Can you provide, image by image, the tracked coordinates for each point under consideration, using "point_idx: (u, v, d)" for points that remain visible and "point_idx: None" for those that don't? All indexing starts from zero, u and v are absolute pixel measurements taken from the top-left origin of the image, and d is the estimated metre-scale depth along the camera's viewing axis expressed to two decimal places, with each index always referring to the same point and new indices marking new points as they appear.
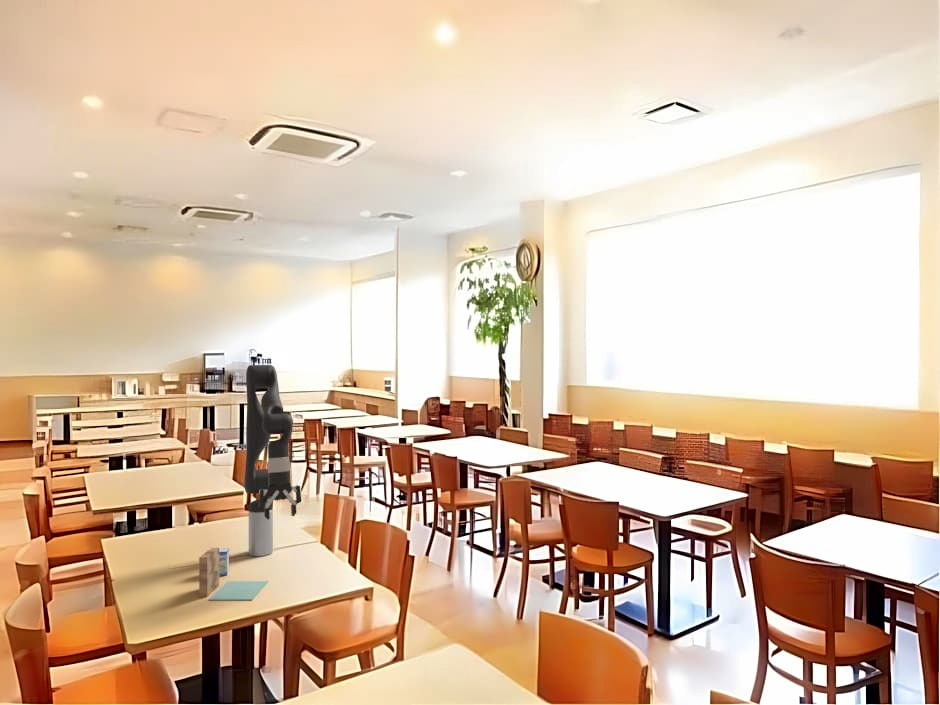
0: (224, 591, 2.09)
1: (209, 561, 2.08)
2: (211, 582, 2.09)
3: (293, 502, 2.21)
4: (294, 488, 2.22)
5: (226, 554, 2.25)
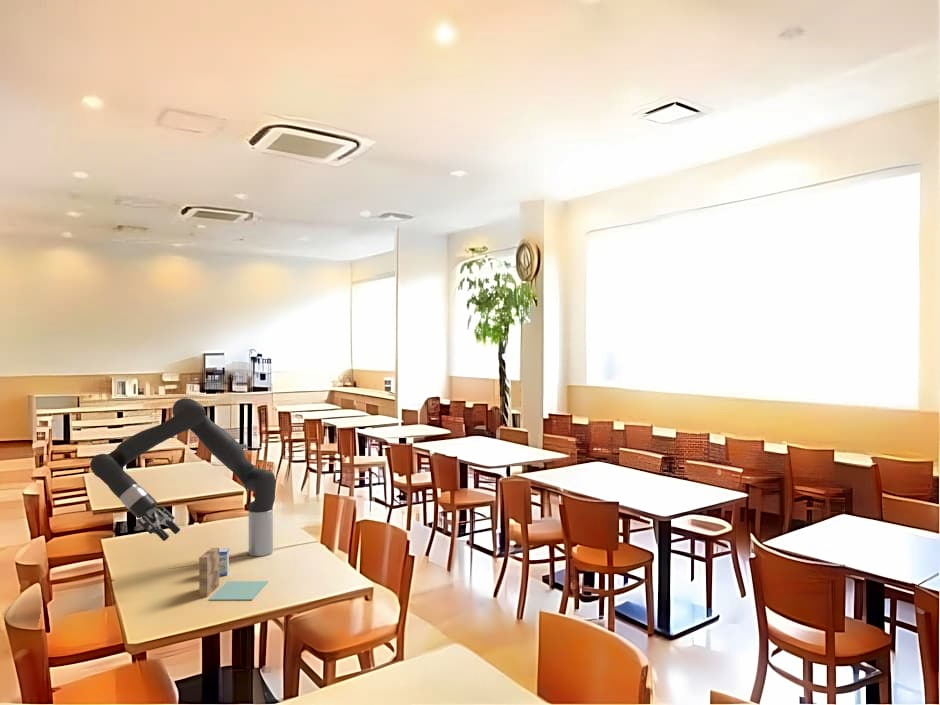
0: (224, 591, 2.09)
1: (209, 561, 2.08)
2: (211, 582, 2.09)
3: None
4: None
5: (226, 554, 2.25)
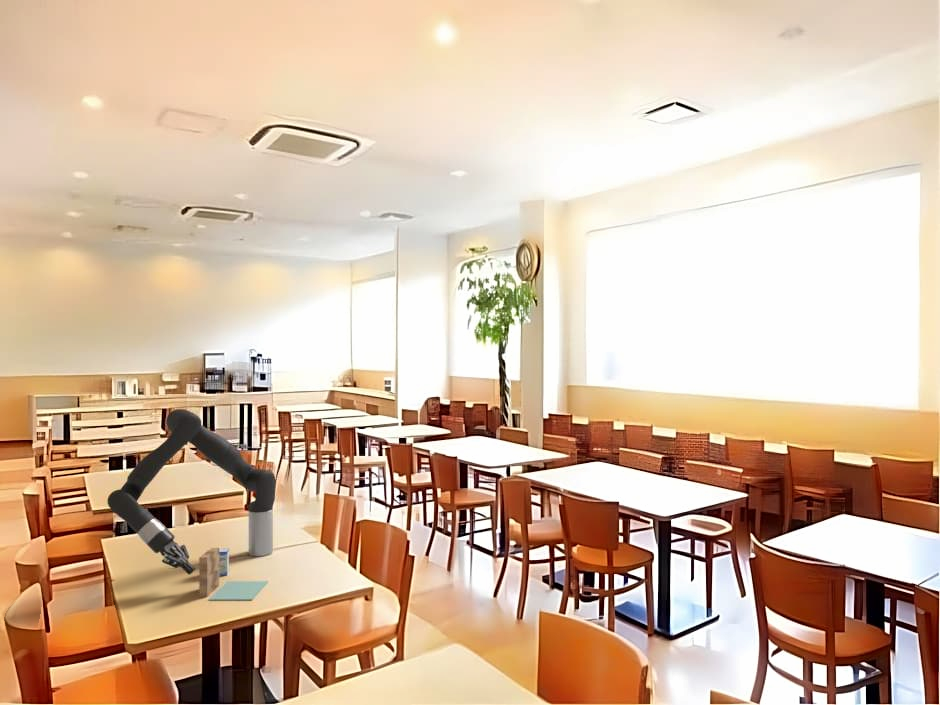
0: (224, 591, 2.09)
1: (210, 561, 2.08)
2: (211, 582, 2.09)
3: None
4: None
5: (226, 554, 2.25)
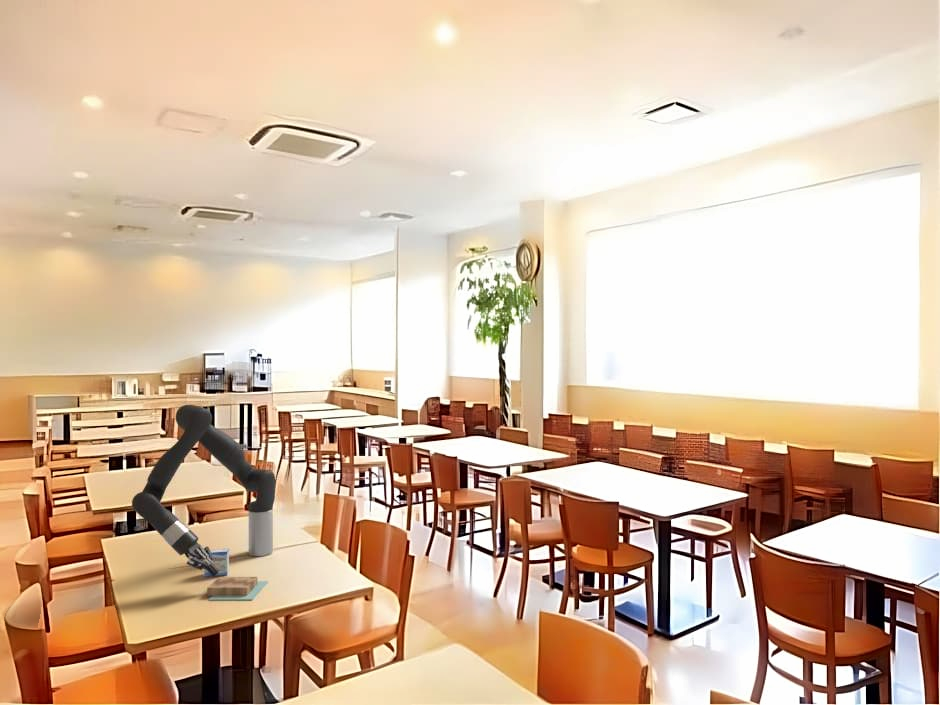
0: None
1: None
2: None
3: None
4: None
5: (226, 554, 2.25)
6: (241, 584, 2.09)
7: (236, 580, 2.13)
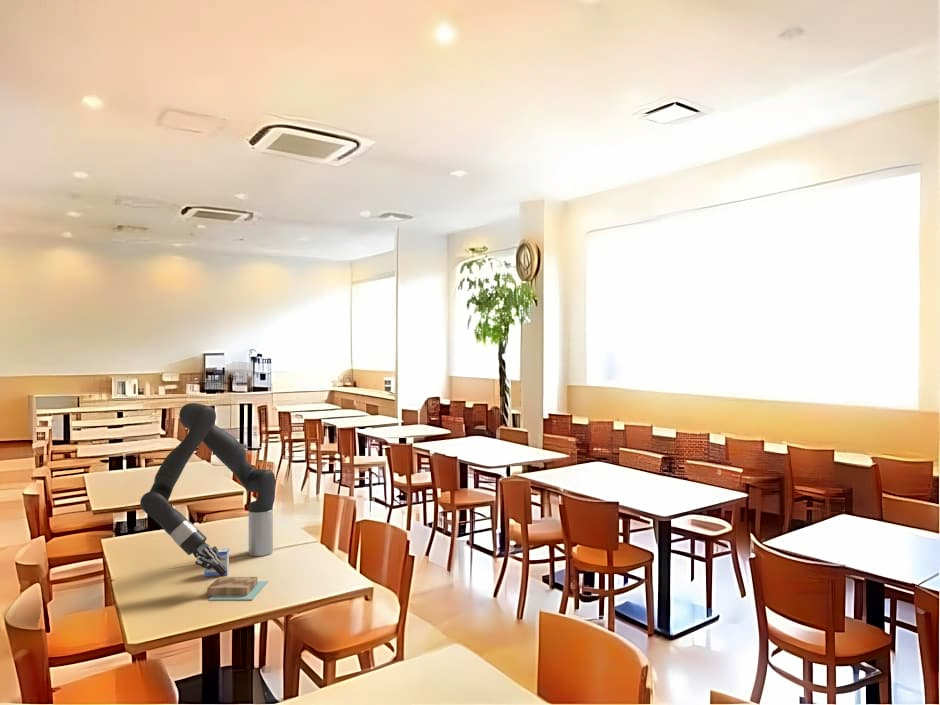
0: None
1: None
2: None
3: None
4: None
5: (226, 554, 2.25)
6: (241, 584, 2.09)
7: (236, 580, 2.13)
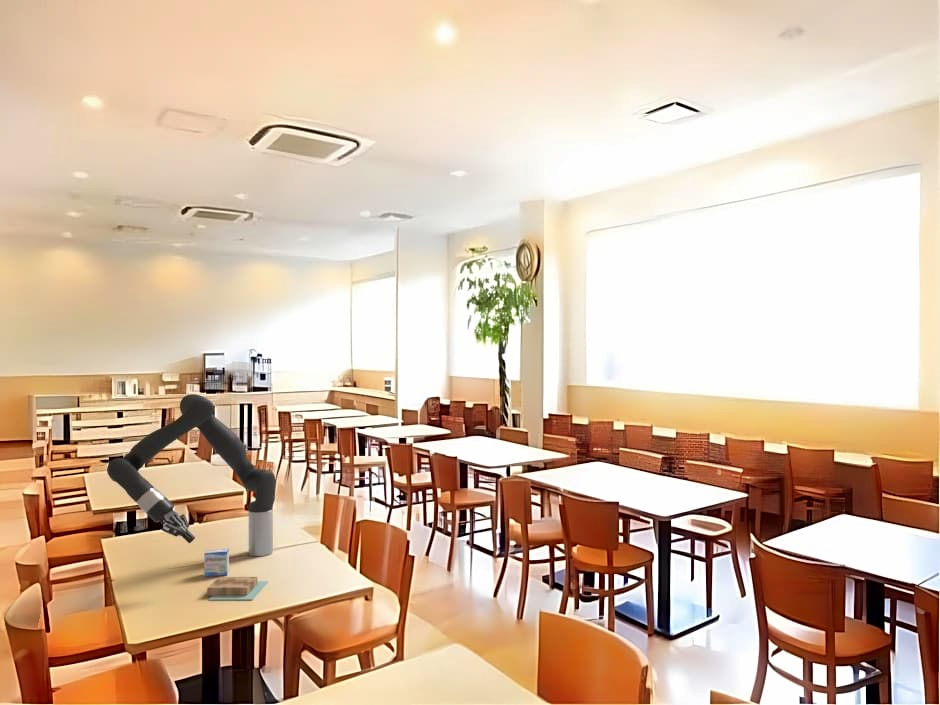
0: None
1: None
2: None
3: None
4: None
5: (226, 554, 2.25)
6: (241, 584, 2.09)
7: (236, 580, 2.13)
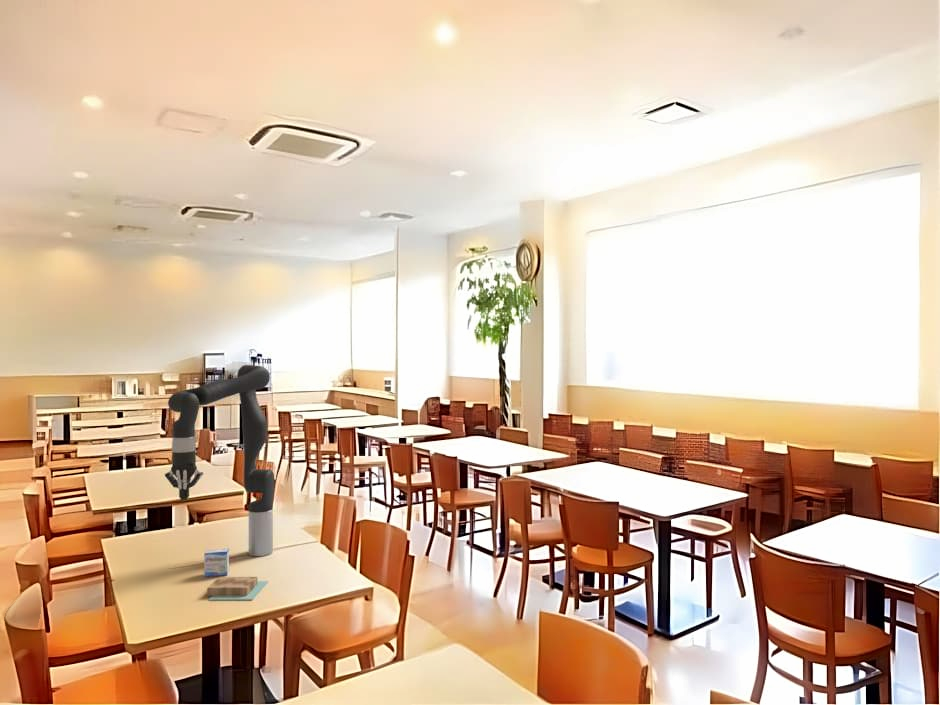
0: None
1: None
2: None
3: (183, 486, 2.17)
4: (196, 472, 2.18)
5: (226, 554, 2.25)
6: (241, 584, 2.09)
7: (236, 580, 2.13)
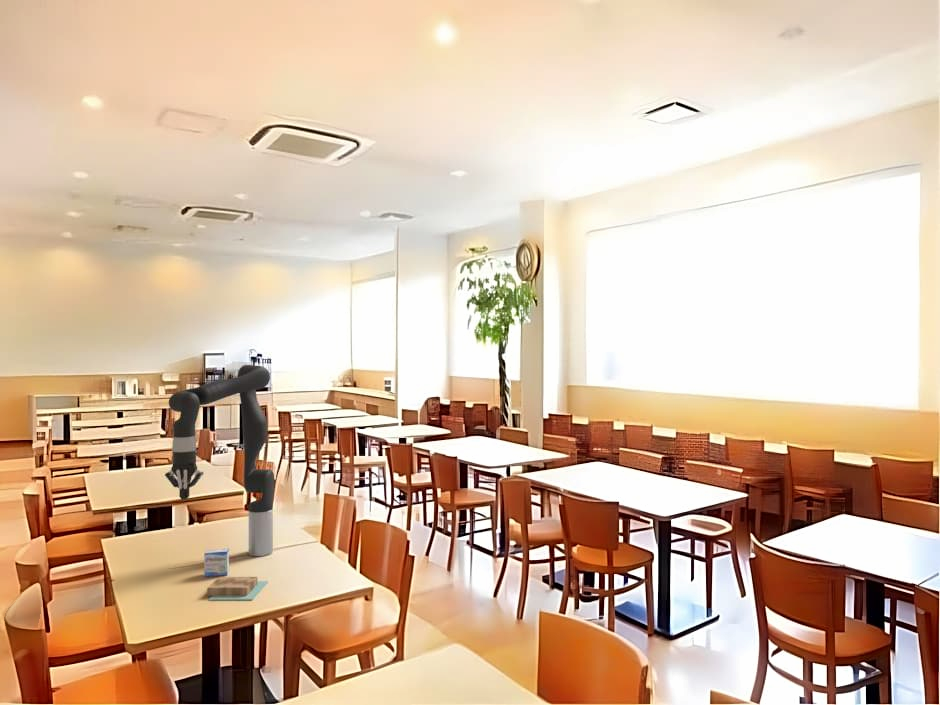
0: None
1: None
2: None
3: (184, 486, 2.17)
4: (196, 472, 2.18)
5: (226, 554, 2.25)
6: (241, 584, 2.09)
7: (236, 580, 2.13)
